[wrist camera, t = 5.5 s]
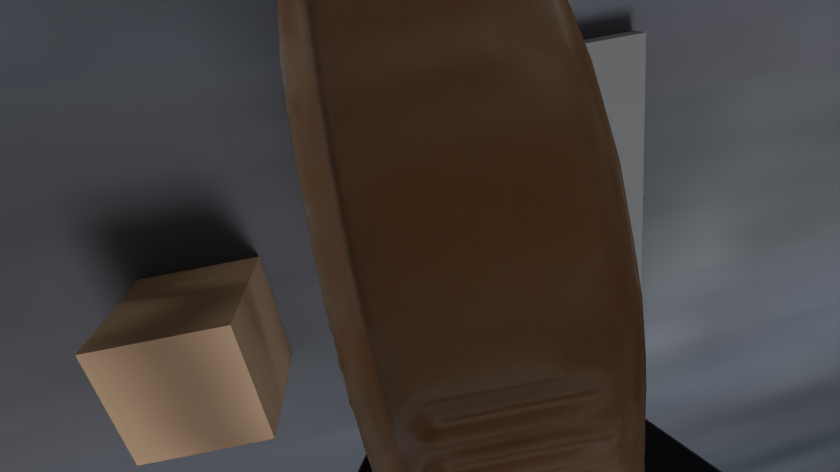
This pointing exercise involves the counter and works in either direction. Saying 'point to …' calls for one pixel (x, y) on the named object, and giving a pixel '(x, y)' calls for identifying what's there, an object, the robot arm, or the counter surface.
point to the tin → (468, 233)
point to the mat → (625, 112)
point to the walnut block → (191, 362)
